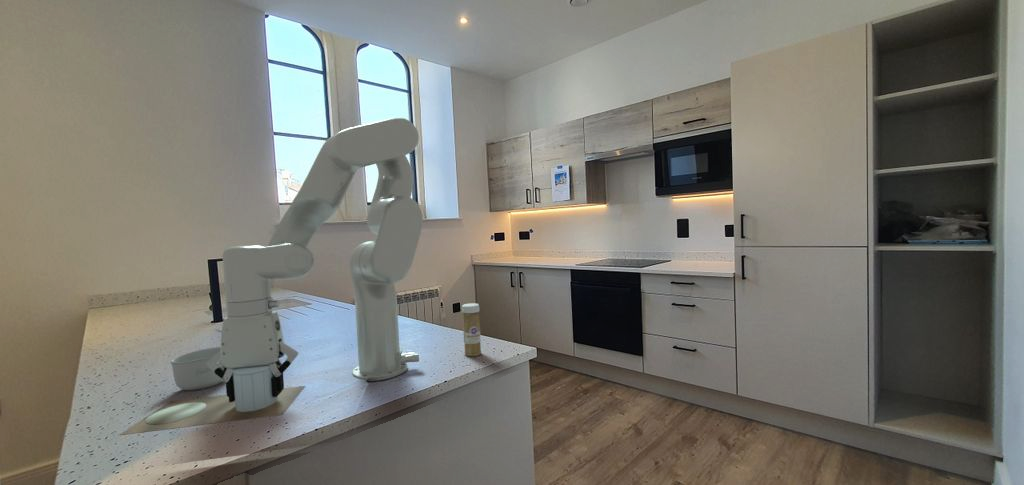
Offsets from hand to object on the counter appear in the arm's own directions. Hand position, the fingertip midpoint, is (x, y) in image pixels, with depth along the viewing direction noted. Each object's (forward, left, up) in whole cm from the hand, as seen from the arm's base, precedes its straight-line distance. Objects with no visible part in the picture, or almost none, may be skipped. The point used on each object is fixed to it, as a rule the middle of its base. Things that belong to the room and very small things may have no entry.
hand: (256, 396), depth 80 cm
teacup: (+17, -18, -3) cm, 25 cm away
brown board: (+6, 0, -2) cm, 6 cm away
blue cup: (0, 0, -1) cm, 1 cm away
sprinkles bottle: (-45, -19, -3) cm, 49 cm away
